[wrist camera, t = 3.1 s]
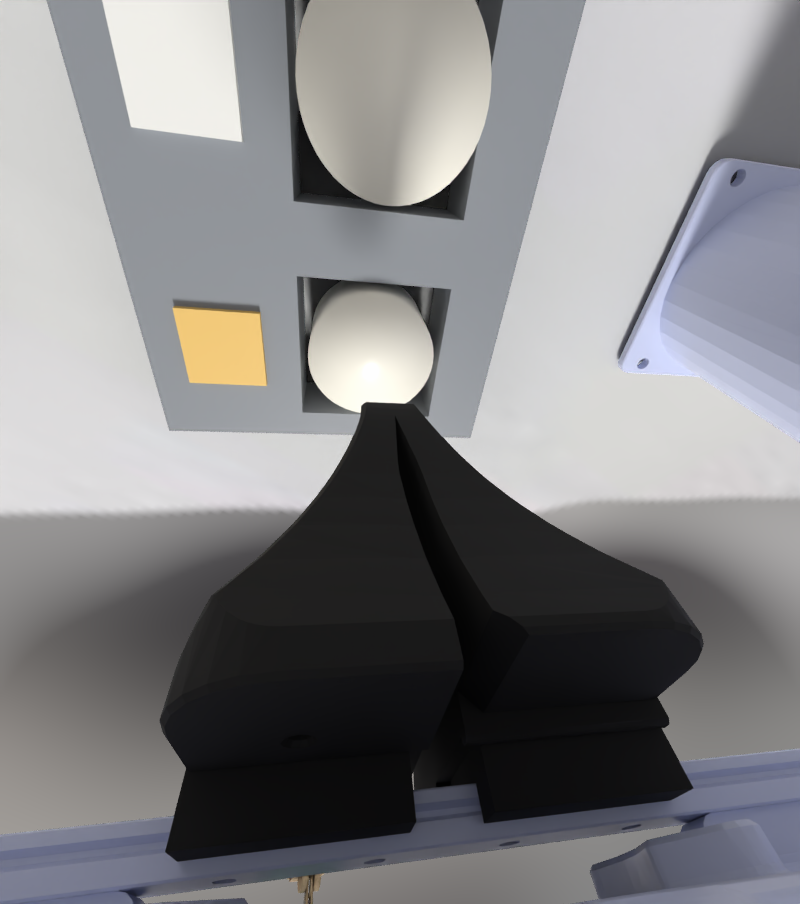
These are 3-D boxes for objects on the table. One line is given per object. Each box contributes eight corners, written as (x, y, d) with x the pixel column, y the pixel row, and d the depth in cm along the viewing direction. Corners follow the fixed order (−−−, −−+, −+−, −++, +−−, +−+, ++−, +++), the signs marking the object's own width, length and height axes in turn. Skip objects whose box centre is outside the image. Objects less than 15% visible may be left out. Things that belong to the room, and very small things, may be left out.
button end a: (429, 279, 15) (443, 301, 13) (414, 384, 18) (423, 415, 16) (310, 269, 14) (305, 290, 12) (313, 379, 17) (309, 411, 15)
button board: (705, -689, 7) (879, -1087, 4) (457, 407, 19) (471, 440, 17) (-181, -1170, 5) (-612, -2250, 3) (188, 397, 17) (167, 433, 15)
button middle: (480, 0, 10) (514, -36, 8) (448, 203, 13) (468, 215, 11) (301, -37, 9) (289, -87, 7) (306, 186, 12) (299, 195, 10)
